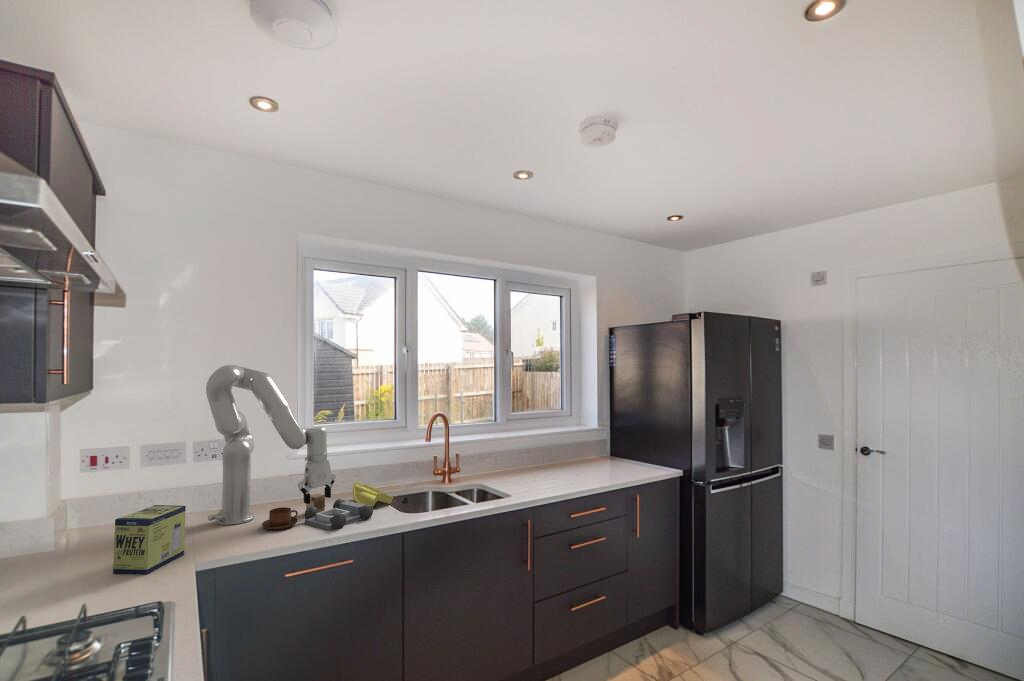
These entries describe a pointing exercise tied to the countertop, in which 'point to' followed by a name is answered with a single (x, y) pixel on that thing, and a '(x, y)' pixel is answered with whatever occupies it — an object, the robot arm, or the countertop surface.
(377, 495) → the plastic component
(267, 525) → the cup and saucer
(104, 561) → the countertop surface
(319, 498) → the wooden block
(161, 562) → the protein box
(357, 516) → the chassis
